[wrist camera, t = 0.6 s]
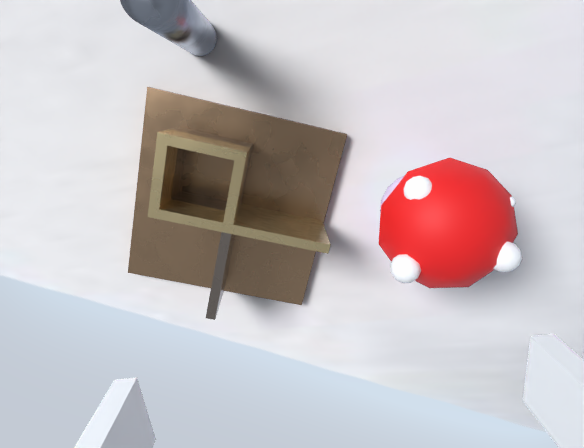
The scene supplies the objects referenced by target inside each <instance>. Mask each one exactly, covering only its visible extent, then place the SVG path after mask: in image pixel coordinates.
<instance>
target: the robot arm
mask: <svg viewBox="0 0 584 448" xmlns="http://www.w3.org/2000/svg"><path fill="white" fill-rule="evenodd" d="M523 403H524V404H525V405H526V406H527V408H528V409H529V410H530V412H531V413H532V414H533V415H534V417H535V418H536V419H537V420H538V422H539V423H540V424H541V425H542V427H543V428H544V429H545V431H546V432H547V433H548V434H549V436H550V437H551V438H552V439H553V441H554V442H555V443H556V444H557V446H558V447H559V448H584V359H583V358H581V357H580V356H579V355H578V354H577V353H576V352H575V351H573V350H572V349H571V348H570V347H569V346H568V345H566V344H565V343H564V342H563V341H562V340H561V339H560V338H558V337H557V336H556V335H555V334H554V333H553V334H544V335H534V336H530V344H529V352H528V360H527V368H526V377H525V385H524V393H523ZM155 440H156V438H155V435H154V432H153V429H152V426H151V422H150V419H149V415H148V412H147V409H146V406H145V402H144V399H143V396H142V392H141V389H140V386H139V383H138V379H137V378H127V379H118V380H114V381H113V383H112V385H111V386H110V388H109V390H108V391H107V393H106V395H105V396H104V398H103V400H102V401H101V403H100V405H99V406H98V408H97V410H96V411H95V413H94V415H93V417H92V418H91V420H90V422H89V423H88V425H87V427H86V428H85V430H84V432H83V433H82V435H81V437H80V438H79V440H78V442H77V443H76V445H75V447H74V448H153V445H154V443H155Z"/></svg>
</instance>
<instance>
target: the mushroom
mask: <svg viewBox="0 0 584 448" xmlns="http://www.w3.org/2000/svg"><path fill="white" fill-rule="evenodd" d="M515 203H516V202H515V199H514V198H513V197H512V196H511V194H510V193H509V192H508V191H507V190H506V189H505V188H504V187H503V186H502V185H501V184H500V183H499V182H498V180H497V179H496V178H495V177H494V176H493V175H492V174H491V173H490V172H489V171H488V170H486V169H483V168H480V167H477V166H474V165H471V164H468V163H465V162H461V161H458V160H455V159H452V158H447V159H444V160H441V161H438V162H435V163H432V164H429V165H426V166H423V167H420V168H417V169H414V170H411V171H408V172H407V174H406V175H405V176H403V177H400V178H398V179H397V180H395V181H394V182H393V183H392V184H391V185H390V186H389V187H388V188H387V190H386V191H385V193H384V195H383V197H382V199H381V209H380V212H381V216H380V232H379V245H380V246H381V248H382V249H383V251H384V252H385V253H386V255H387V256H388V258H389V259H390V260H391V265H390V269H391V274H392V275H393V277H394V278H395V279H396V280H398V281H399V282H401V283H411V282H413V281H414V280H415V281H417V282H419V283H421V284H423V285H425V286H427V287H428V288H450V287H469V286H471V285H472V284H474V283H475V282H477V281H478V280H480V279H481V278H483V277H484V276H486V275H487V274H489V273H490V272H492V271H493V270H497V271H499V272H511V271H512V270H514V269H515V268H517V267H518V266H519V264H520V262H521V261H522V254H521V250H520V249H519V248H518V247H517V245H516V244H514V243H513V242H514V240H515V238H516V236H517V234H518V232H517V225H516V219H515V212H514V205H515Z"/></svg>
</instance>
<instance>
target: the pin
mask: <svg viewBox="0 0 584 448" xmlns="http://www.w3.org/2000/svg"><path fill="white" fill-rule="evenodd" d="M120 1H121V4H122V6H123V8H124V10H125V11H126V13H127V14H128V15H129V16H130V17H131V18H132V19H133V20H135V21H136V22H138V23H140V24H141V25H143V26H145V27H147V28H148V29H150V30H152V31H154V32H155V33H157V34H159V35H160V36H162V37H164V38H166V39H167V40H169V41H171V42H173V43H174V44H176V45H178V46H179V47H181V48H183V49H185V50H186V51H188V52H190V53H192V54H194V55H196V56H204V55H207V54H209V53H210V52H211V51H212V50H213V49H214V47H215V45H216V40H217V36H216V32H215V29H214V27H213V26H212V24H211V23H210V22H209V21H208V20H207V18H206V17H205V16H204V15H203V14H202V13H201V11H200V10H199V9H198V8H197V7H196V5H195V4H194V3H193V2H192V1H191V0H120Z"/></svg>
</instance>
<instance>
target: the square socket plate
mask: <svg viewBox="0 0 584 448" xmlns="http://www.w3.org/2000/svg"><path fill="white" fill-rule="evenodd" d="M346 137H347V134H345V133H341V132H336V131H332V130H328V129H324V128H320V127H315V126H311V125H307V124H303V123H299V122H294V121H290V120H286V119H282V118H277V117H273V116H269V115H265V114H261V113H256V112H252V111H248V110H244V109H240V108H235V107H231V106H227V105H223V104H219V103H214V102H210V101H206V100H202V99H197V98H193V97H189V96H185V95H181V94H176V93H172V92H168V91H164V90H160V89H155V88H151V87H147V96H146V106H145V115H144V125H143V134H142V144H141V153H140V163H139V172H138V182H137V191H136V201H135V210H134V220H133V229H132V239H131V248H130V258H129V267H128V273H133V274H139V275H144V276H149V277H155V278H160V279H165V280H171V281H176V282H181V283H187V284H192V285H197V286H202V287H208V288H211V292H210V298H209V303H208V309H207V314H206V318H208V319H214V320H215V318H216V315H217V312H218V308H219V305H220V302H221V298H222V295H223V292H224V291H229V292H234V293H240V294H245V295H250V296H256V297H261V298H266V299H272V300H277V301H282V302H288V303H293V304H298V305H302V301H303V298H304V294H305V290H306V286H307V283H308V279H309V275H310V272H311V268H312V264H313V260H314V257H315V253H316V251H317V252H322V253H327V254H328V253H329V249H330V245H331V244H330V241H329V239H328V236H327V233H326V230H325V228H324V225H323V223H324V219H325V215H326V212H327V208H328V204H329V201H330V197H331V193H332V189H333V186H334V182H335V178H336V174H337V171H338V167H339V163H340V159H341V156H342V152H343V148H344V145H345V141H346Z"/></svg>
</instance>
